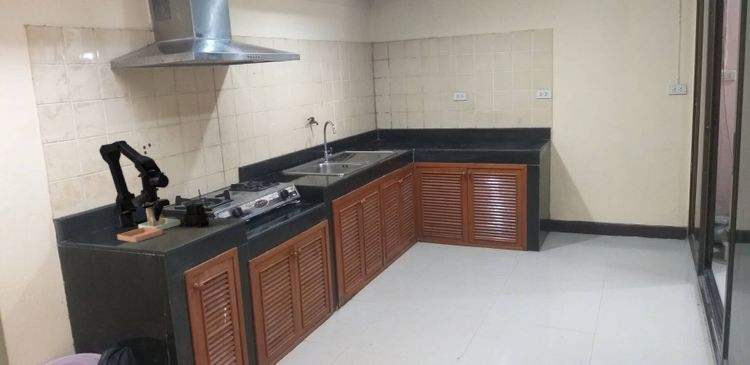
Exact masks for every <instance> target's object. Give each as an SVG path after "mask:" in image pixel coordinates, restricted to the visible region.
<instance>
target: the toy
mask: <svg viewBox="0 0 750 365" xmlns="http://www.w3.org/2000/svg"><path fill="white" fill-rule="evenodd" d="M185 210H186V214H185V215H184V216H183V217H182V218H183V222H184V224H183V226H184V227H186V228H197V229H201V227H202V226H206V227H207V226H208V225H209V224H210V221H208V218H209V215H208V213H207V212H213V208H205V206H203V203H201V204H200V203H191V204H188V205H186V206H185Z"/></svg>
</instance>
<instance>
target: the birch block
mask: <svg viewBox="0 0 750 365" xmlns="http://www.w3.org/2000/svg"><path fill="white" fill-rule="evenodd" d="M145 213H147V214H146V219H147V222H148V226H158V225H161V218H162V217H161V216H160V218H159V221H156V220H155V216H154V212H153V210H152V209H151V207H150V208H146V212H145Z"/></svg>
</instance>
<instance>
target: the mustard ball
mask: <svg viewBox="0 0 750 365" xmlns="http://www.w3.org/2000/svg"><path fill="white" fill-rule="evenodd" d="M164 218H165V217H161V225H163V224H165V222H166V221H165V219H164Z"/></svg>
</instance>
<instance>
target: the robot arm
mask: <svg viewBox="0 0 750 365" xmlns="http://www.w3.org/2000/svg"><path fill="white" fill-rule="evenodd" d="M99 154H100V156H101V158H102V160H103V161H104V162H105V163H107V165H108V168H109V171H110V175H111V178H112V181H113V184H114V187H115V190H116V191H115V192H116V198H115V204H116V205H115V207H114V209H113V210H112V212H113V215H114V216H118V218H119V225H117V226H116V227H117V228H125V229H126V228H129V227H133V226H137V225H138V223H135V219H134V216H133V213H135V212H137V207H139V208H140V209H142V210H144V211H145V213H146V208H150V207H151V209H152V210H153V212H154V216H155V220H156V221H159V218H160V217H161V215H162V212H163V209H164V208H165V207H168V206H170V205H171V202H170V200H169V199H168V198H160V196H158V191H160V189H166V188H167V187H168V186H169V184H170V180H169V177H168V176H167V175H166V174H165V172H162V171H161V169H160V167H159V166H158V164H157V162H156V161H155V159H154V158H152V157H151V156H147V155H143V154H141V153H140V152H138V151H137V150H136V149H135V148H134V147H132V146H131V145H129V144H128V142H127V141H126V140H118V141H117V140H116V141H114V142H111V143H107V144H102V145H101V146H100V148H99ZM122 155H123V157H126V158H127V159H128V160H130V162H132V163H133V165H134V169H136V170H137V172H139V174H138V176H137V178H140V179H141V186H142V189H141V190H140V194H138V195H136V194H135V193H134V192H133V193H132V192H130V191H129V187H128V185H127V183H126V179H125V176H124V171H123V169H122V166H121V163H120V160H121V157H122ZM159 188H160V189H159ZM146 215H147V213H146Z"/></svg>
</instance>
